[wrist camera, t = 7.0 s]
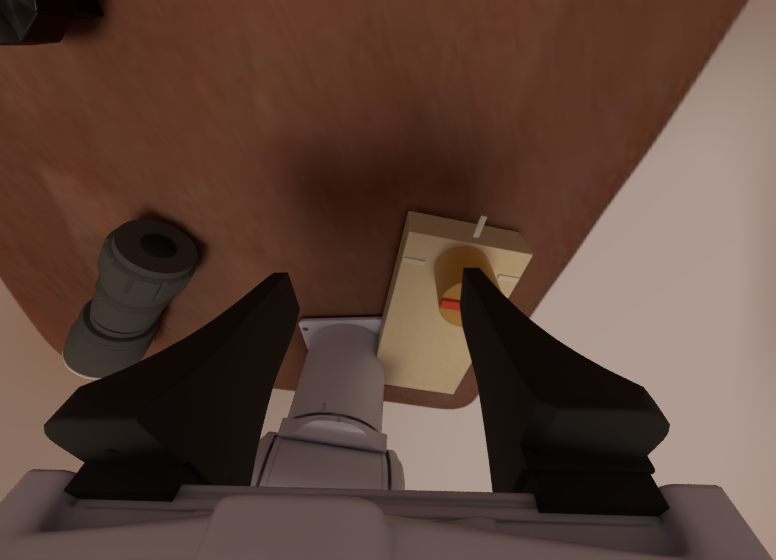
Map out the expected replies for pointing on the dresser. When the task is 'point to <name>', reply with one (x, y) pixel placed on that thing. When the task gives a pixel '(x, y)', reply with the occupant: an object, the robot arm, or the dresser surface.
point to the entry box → (41, 19)
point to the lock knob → (457, 279)
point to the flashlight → (129, 297)
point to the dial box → (420, 305)
